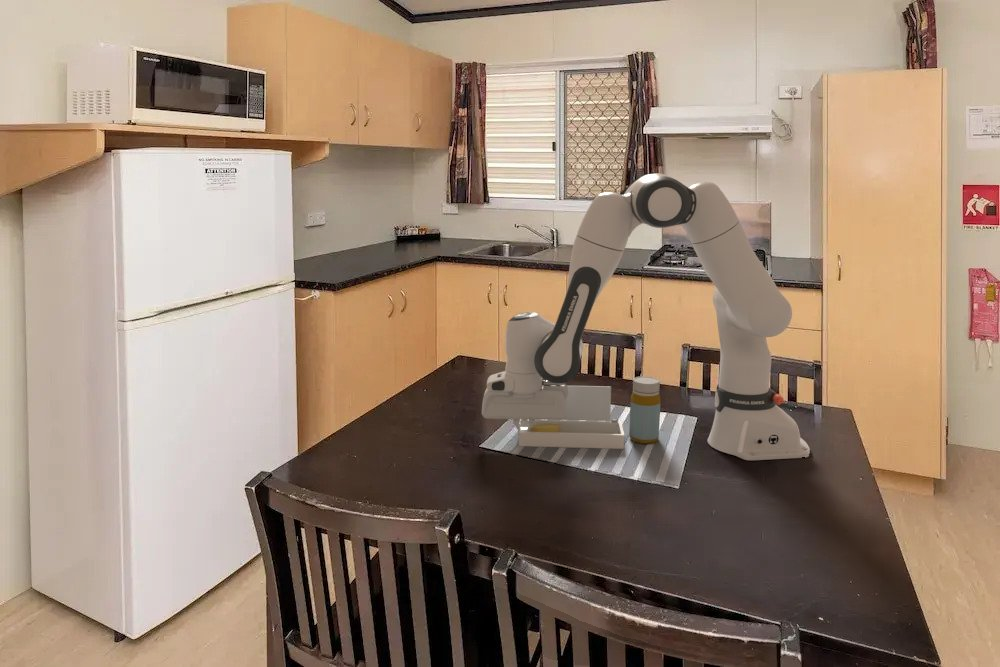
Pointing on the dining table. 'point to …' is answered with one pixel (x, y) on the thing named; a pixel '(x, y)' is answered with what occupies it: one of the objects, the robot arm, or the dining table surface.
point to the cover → (588, 403)
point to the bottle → (645, 410)
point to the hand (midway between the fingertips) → (524, 435)
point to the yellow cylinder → (545, 428)
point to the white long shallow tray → (575, 434)
